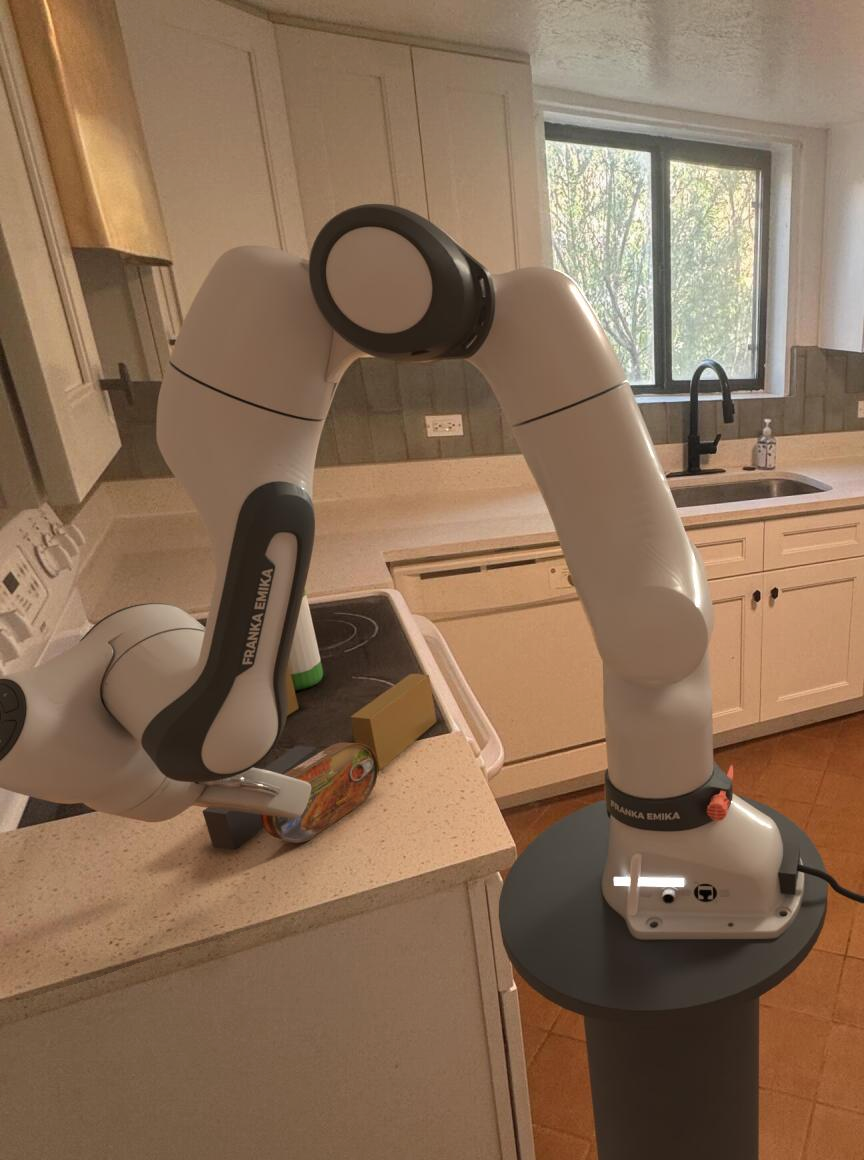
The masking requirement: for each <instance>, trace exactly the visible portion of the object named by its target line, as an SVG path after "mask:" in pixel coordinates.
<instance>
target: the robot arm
mask: <svg viewBox="0 0 864 1160" xmlns="http://www.w3.org/2000/svg"><path fill="white" fill-rule="evenodd" d="M367 355H369V356H372V357H374V358H378V359H380V360H383V361H390V362H398V363H401V364H407V365H412V366H413V365H414V366H424V365H432V364H437V363H441V362H444V361H446V360H464V361H466V362H469V364H472V365H473V366H474V367H475V368H476V369H477V370H478V371H479V372H480V373H481V375H482V376H483V378H485V380H486V382H487V383H488V385H489V386H490V389H491V390H492V391H493V394H494V396H495V398H496V399H497V401H498V404H499V406H500V409H501V410H502V413H503V415H504V417H505V419H506V422H507V424H508V426H509V428H510V430H511V433H512V434H513V437H514V438H515V441H516V443H517V445H518V448H519V449H520V452H521V455H522V457H523V459H524V460H525V463H526V464H527V467H528V469H529V471H530V474H531V475H532V478H533V479H534V482H535V484H536V486H537V489H538V490H539V493H540V495H541V496H542V497H541V498H542V499H543V501H544V504H545V506H546V509H547V511H548V513H549V516H550V518H551V522H552V524H553V527H554V530H555V533H556V536H557V540H558V542H559V545H560V550H561V552H562V555H563V558H564V561H565V563H566V567H567V570H568V573H569V575H570V577H571V581H572V585H573V587H574V589H575V592H576V595H577V597H578V600H579V602H580V605H581V608H582V610H583V613H584V616H585V618H586V621H587V623H588V625H589V628H590V630H591V634H592V637H593V640H594V643H595V647H596V649H597V652H598V654H599V657H600V658H601V661H602V695H603V696H602V706H603V707H602V708H603V719H604V720H603V723H604V734H605V736H604V737H605V749H606V758H607V759H606V763H607V768H606V769H605V771H604V791H603V792H604V800H605V803H606V808H607V815H608V817H609V818H610V835H609V848H608V855H607V861H606V866H605V870H604V873H603V876H602V882H601V887H602V892H603V895H604V898H605V899H606V901H607V902H608V904H609V905H610V906H611V907H612V908H613V909H614V910H615V911H616V912H618V913H619V914H620V915H621V916H622V917H623V918H624V919H625V921H626V924H627V927H628V929H629V931H630V933H631V935H632V936H633V937H635V938H637V939H642V940H658V939H773V938H777V937H779V936H780V935H781V934H783V933H784V932H785V931H786V930H787V929H788V928H789V927H790V926H791V924H792V923H793V921H794V920H795V918H796V916H797V914H798V912H799V909H800V906H801V903H802V899H803V894H804V886H805V877H804V873H806V874H810V875H813V876H816V877H819V878H821V879H823V880H825V881H827V882H828V885H829V886H830V888H832V890H833V891H835V892H836V893H837V894H839V895H841V896H843V897H844V898H847V899H850V900H852V901H854V902H858V903H860V904H864V895H862V894H858V893H856V892H854V891H851V890H849V889H846V888H845V887H843V886H841V885H840V884H839V883H838V882H837V880H836V879H835V878H834V876H832V875H830V874H829V873H827V872H826V873H825V872H823V871H821V870H818V869H815V868H811V867H807V866H804V865H803V864H802V861H801V858H800V843H798V842H788V841H784V844H783V843H782V839H781V835H780V832H779V829H778V827H777V825H776V823H775V822H774V821H773V820H772V819H771V818H770V817H768V816H767V815H765V814H763V813H762V812H760V811H759V810H757V809H756V808H754V807H753V806H751V805H750V804H748V803H747V802H745V801H744V800H742V799H741V798H739V797H738V796H736V795H737V794H736V793H733V790H734V789H733V779H734V766H733V764H730V766H729V769H728V771H727V774H726V773H725V772H724V771H723V770H722V769H721V767H719V765H718V764H717V763H716V761H715V759H714V733H713V732H714V731H713V730H714V728H713V727H714V726H713V725H714V724H713V694H712V693H713V692H712V680H711V661H710V642H711V639H712V636H713V635H712V634H713V631H714V627H715V626H714V625H715V610H714V605H713V600H712V595H711V591H710V585H709V581H708V576H707V571H706V567H705V561H704V559H703V556H702V554H701V552H700V550H699V549H698V548H697V546H696V544H694V542H693V541H692V540H690V538H689V537H688V535H687V532H686V529H685V527H684V524H683V521H682V519H681V515H680V513H679V510H678V507H677V505H676V502H675V499H674V496H673V493H672V491H671V488H670V485H669V482H668V480H667V477H666V473H665V471H664V467H663V464H662V463H661V459H660V457H659V455H658V453H657V450H656V447H655V444H654V442H653V440H652V437H651V434H650V432H649V429H648V427H647V425H646V422H645V419H644V416H643V414H642V412H641V410H640V407H639V405H638V402H637V400H636V397H635V394H634V392H633V390H632V387H631V385H630V381H629V380H628V377H627V374H626V372H625V370H624V367H623V364H622V363H621V360H620V359H619V357H618V354H617V352H616V350H615V348H614V346H613V343H612V342H611V340H610V338H609V336H608V334H607V332H606V330H605V328H604V326H603V324H602V322H601V320H600V319H599V317H598V316H597V314H596V312H595V311H594V308H593V307H592V306H591V304H590V302H589V301H588V299H587V297H586V296H585V294H584V293H583V291H582V289H581V288H580V286H579V285H578V284H577V282H576V281H575V280H574V279H572V277H570V275H568V274H566V273H564V272H563V271H561V270H558V269H555V268H551V267H544V266H528V267H527V266H526V267H522V268H516V269H513V270H511V271H507V272H504V273H491V272H490V271H489V269H487V267H485V266H484V265H483V264H482V263H481V262H480V261H478V259H476V258H475V257H474V256H472V255H471V254H470V253H468V252H467V250H465V249H464V248H462V246H461V245H460V244H459V243H458V242H457V241H456V240H455V239H454V238H453V237H452V236H451V235H450V234H448V233H447V232H446V231H445V230H443V229H442V228H441V227H438V226H437V225H436V224H435V223H432V221H430V220H428V219H427V218H425V217H423V216H422V215H420V214H418V213H416V212H414V211H412V210H409V209H408V208H404V207H401V206H397V205H394V204H386V203H368V204H361V205H360V204H359V205H357V206H353V207H350V208H347V209H345V210H343V211H341V212H339V213H337V214H336V215H334V216H333V217H332V218H330V219H329V220H328V221H327V222H326V223H325V225H323V227H322V228H321V229H320V230H319V232H318V233H317V235H316V237H315V239H314V242H313V243H312V245H311V250H310V253H309V259H308V260H307V259H305V258H303V257H300V256H298V255H296V254H294V253H291V252H288V251H285V250H283V249H279V248H275V247H272V246H271V247H270V246H264V245H240V246H236V247H233V248H230V249H228V250H226V251H225V252H224V253H222V254H221V255H220V256H219V257H218V259H216V260H215V263H214V264H213V266H212V267H211V269H210V271H209V272H208V273H207V275H206V277H205V279H204V280H203V282H202V284H201V286H200V288H199V290H198V291H197V293H196V295H195V296H194V298H193V300H192V302H191V304H190V307H189V308H188V311H187V313H186V315H185V317H184V319H183V322H182V325H181V326H180V329H179V331H178V334H177V336H176V339H175V341H174V345H173V348H172V351H171V353H170V357H169V360H168V363H167V366H166V369H165V372H164V376H163V378H162V381H161V385H160V389H159V394H158V399H157V404H156V405H157V406H156V428H155V429H156V430H155V432H156V435H155V437H156V443H157V446H158V449H159V451H160V453H161V456H162V457H163V459H164V462H165V463H166V466H167V467H168V468H169V470H170V471H171V473H172V474H173V476H174V477H175V479H176V480H177V482H178V483H179V485H180V486H181V487H182V489H183V491H184V493H185V494H186V495H187V498H189V500H190V502H191V503H192V505H193V507H194V509H195V510H196V512H197V514H198V516H199V518H200V520H201V522H202V524H203V526H204V528H205V531H206V533H207V535H208V538H209V541H210V544H211V547H212V552H213V555H214V561H215V562H214V563H215V580H214V585H213V590H212V595H211V599H210V603H209V609H208V613H207V614H208V615H207V619H206V623H205V626H204V625H203V624H202V623H201V622H199V621H198V620H197V619H195V617H193V616H192V615H191V614H190V612H188V611H186V610H185V609H183V608H181V607H180V606H176V605H174V604H170V603H162V602H150V603H149V602H148V603H139V604H135V605H130V606H127V607H123V608H121V609H117V610H115V611H114V612H112V613H110V614H108V615H106V616H104V617H103V618H101V619H100V620H99V621H98V622H97V623H95V624H94V625H93V626H92V627H91V628H89V630H88V631H87V632H86V633H85V635H83V636H82V638H81V639H80V640H79V641H78V642H77V643H75V644H74V645H72V646H71V647H70V648H67V649H66V650H65V651H63V652H62V653H59V654H58V655H56V656H55V657H53V658H51V659H50V660H47V661H46V662H44V663H41V664H40V665H37V666H35V667H32V668H30V669H26V670H23V671H18V672H15V673H10V674H9V673H8V674H5V675H2V676H0V789H3V790H6V791H9V792H12V793H16V794H19V795H22V796H27V797H31V798H33V799H39V800H42V801H46V802H51V803H55V804H56V803H57V804H63V805H64V804H65V805H73V804H83V805H85V806H86V807H88V808H90V810H91V809H92V810H93V811H97V812H99V813H103V814H107V815H113V816H117V817H122V818H126V819H130V820H131V819H132V820H136V821H140V822H145V823H160V822H165V821H168V820H172V819H174V818H175V817H177V816H179V815H181V814H182V813H184V812H185V811H186V810H188V809H189V808H190V807H192V806H193V807H201V808H215V809H223V810H231V811H239V812H247V813H255V814H262V815H270V816H278V817H286V818H299V817H300V816H301V815H302V814H303V812H304V810H305V808H306V806H307V803H308V800H309V797H310V794H311V785H310V784H309V783H308V782H305V781H302V780H299V779H296V778H292V777H289V776H286V775H282V774H279V773H275V772H271V771H268V770H263V768H257V767H255V766H257V765H259V764H260V763H261V762H263V760H265V759H266V757H268V755H269V754H270V753H271V752H272V751H273V749H274V747H275V746H276V744H278V741H279V740H280V738H281V735H282V733H283V730H284V729H285V726H286V722H287V717H288V716H287V712H288V698H287V689H286V674H287V666H288V661H289V656H290V652H291V647H292V643H293V639H294V634H295V630H296V625H297V621H298V616H299V612H300V607H301V603H302V598H303V594H304V589H305V590H306V584H307V580H308V575H309V570H310V566H311V560H312V557H313V556H312V555H313V548H314V543H315V534H316V518H315V508H314V507H315V506H314V501H313V500H314V499H313V490H314V489H313V486H314V485H313V484H314V474H315V465H316V458H317V453H318V448H319V445H320V440H321V436H322V433H323V429H324V425H325V422H326V419H327V417H328V413H329V411H330V408H331V405H332V402H333V399H334V397H335V394H336V391H337V388H338V386H339V384H340V382H341V379H342V377H343V376H344V374H345V373H346V371H347V369H349V367H350V366H351V364H352V363H354V362H355V361H356V360H358V359H360V358H362V357H363V356H367ZM735 794H736V795H735ZM782 916H784V917H782ZM653 927H655V928H653Z"/></svg>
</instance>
